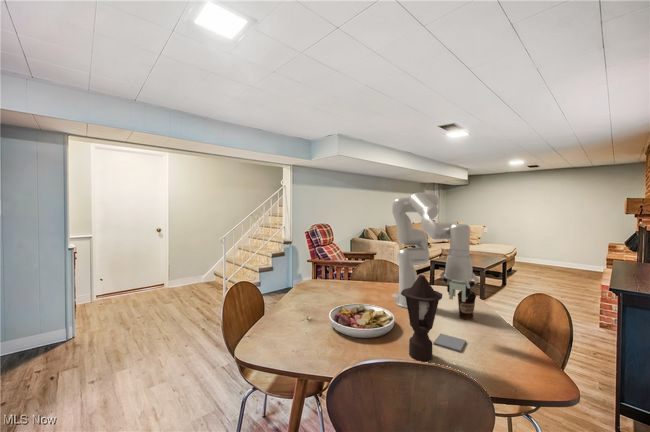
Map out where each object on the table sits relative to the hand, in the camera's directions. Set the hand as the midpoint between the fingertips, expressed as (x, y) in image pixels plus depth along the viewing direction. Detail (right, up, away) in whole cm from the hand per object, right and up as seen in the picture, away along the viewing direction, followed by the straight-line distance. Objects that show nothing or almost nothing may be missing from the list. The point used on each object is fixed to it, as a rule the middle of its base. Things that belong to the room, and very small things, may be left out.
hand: (458, 294), depth 119 cm
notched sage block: (0, -2, 0) cm, 2 cm away
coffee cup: (+13, -17, +19) cm, 29 cm away
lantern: (-21, -18, -15) cm, 32 cm away
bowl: (-40, -18, +11) cm, 45 cm away
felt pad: (-6, -18, -6) cm, 20 cm away
